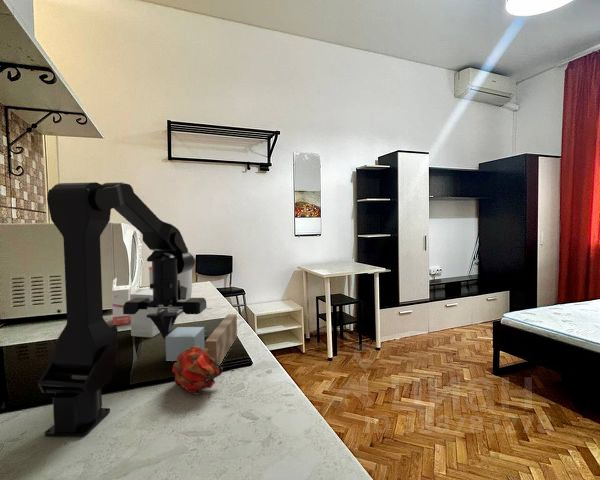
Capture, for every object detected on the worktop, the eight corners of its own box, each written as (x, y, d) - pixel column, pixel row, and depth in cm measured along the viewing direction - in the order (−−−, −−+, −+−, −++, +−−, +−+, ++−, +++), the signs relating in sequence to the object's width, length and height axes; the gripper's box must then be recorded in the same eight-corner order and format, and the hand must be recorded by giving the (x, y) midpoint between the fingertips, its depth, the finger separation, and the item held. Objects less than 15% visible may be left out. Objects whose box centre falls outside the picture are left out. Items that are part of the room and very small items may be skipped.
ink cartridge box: (130, 323, 100) (128, 280, 99) (112, 326, 98) (111, 281, 97) (132, 316, 108) (131, 276, 107) (116, 318, 106) (114, 277, 105)
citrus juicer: (183, 301, 129) (182, 255, 128) (199, 310, 116) (198, 258, 115) (143, 308, 119) (142, 257, 118) (156, 318, 106) (154, 261, 105)
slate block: (195, 361, 72) (194, 337, 72) (166, 361, 72) (165, 337, 72) (204, 349, 79) (204, 327, 79) (178, 349, 79) (177, 327, 79)
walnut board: (216, 372, 67) (216, 341, 67) (205, 372, 67) (205, 341, 67) (237, 338, 87) (236, 314, 87) (228, 338, 87) (228, 314, 87)
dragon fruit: (185, 380, 66) (213, 412, 58) (153, 370, 61) (179, 403, 52) (208, 345, 69) (237, 370, 60) (179, 332, 63) (207, 358, 55)
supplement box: (152, 338, 87) (151, 295, 87) (130, 336, 89) (128, 294, 88) (168, 329, 95) (167, 289, 94) (147, 327, 96) (146, 288, 96)
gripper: (212, 272, 83) (213, 328, 83) (144, 272, 83) (146, 328, 84) (198, 280, 72) (199, 344, 72) (120, 280, 72) (122, 344, 72)
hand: (166, 339), depth 75 cm, fingers closed
